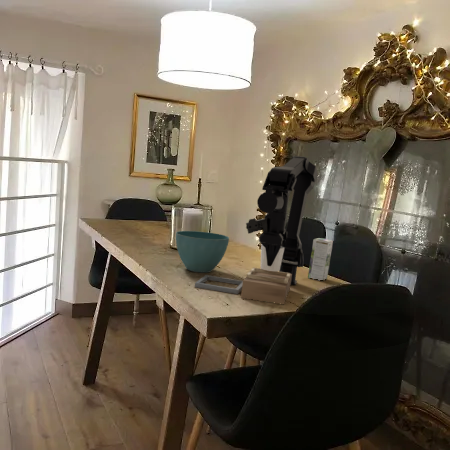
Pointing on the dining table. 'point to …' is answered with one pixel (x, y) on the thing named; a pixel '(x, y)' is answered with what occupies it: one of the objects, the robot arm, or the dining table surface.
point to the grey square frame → (219, 288)
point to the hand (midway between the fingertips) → (270, 264)
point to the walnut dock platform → (266, 285)
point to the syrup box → (320, 259)
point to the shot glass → (276, 263)
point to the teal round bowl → (201, 249)
